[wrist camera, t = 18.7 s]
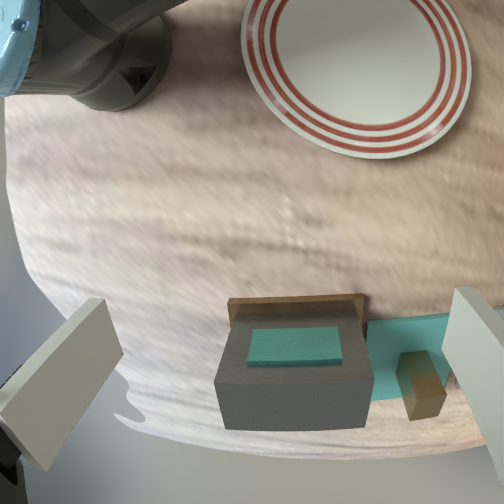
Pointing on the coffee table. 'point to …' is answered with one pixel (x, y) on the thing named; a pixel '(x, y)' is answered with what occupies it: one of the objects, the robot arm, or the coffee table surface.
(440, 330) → the teal pad
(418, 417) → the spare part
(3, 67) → the robot arm
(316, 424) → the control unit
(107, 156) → the coffee table surface
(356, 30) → the dinner plate
